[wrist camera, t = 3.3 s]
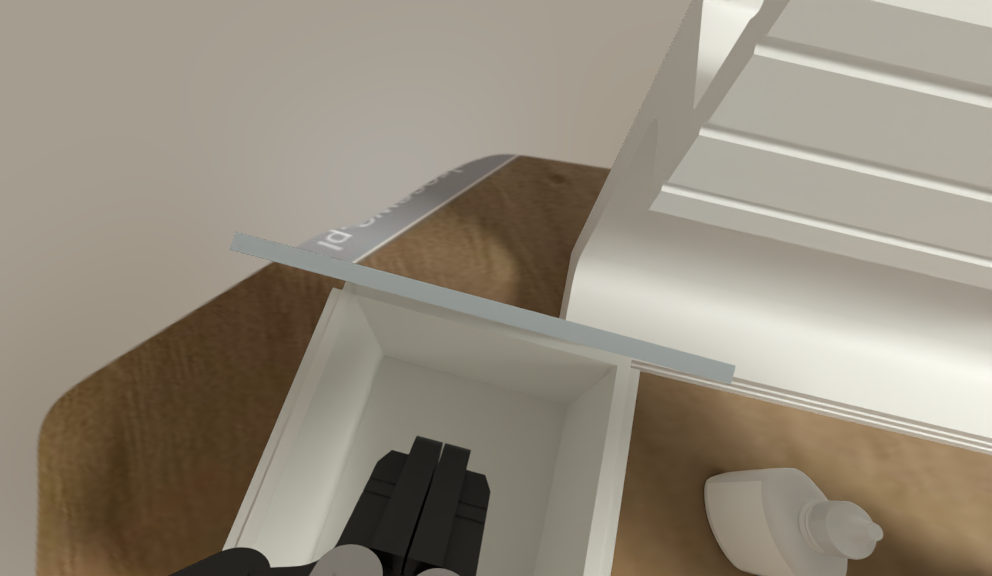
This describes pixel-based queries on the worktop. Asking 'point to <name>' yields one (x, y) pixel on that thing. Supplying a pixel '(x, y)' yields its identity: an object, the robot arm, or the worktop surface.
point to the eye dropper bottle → (785, 524)
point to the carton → (448, 432)
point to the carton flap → (484, 308)
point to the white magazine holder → (811, 211)
